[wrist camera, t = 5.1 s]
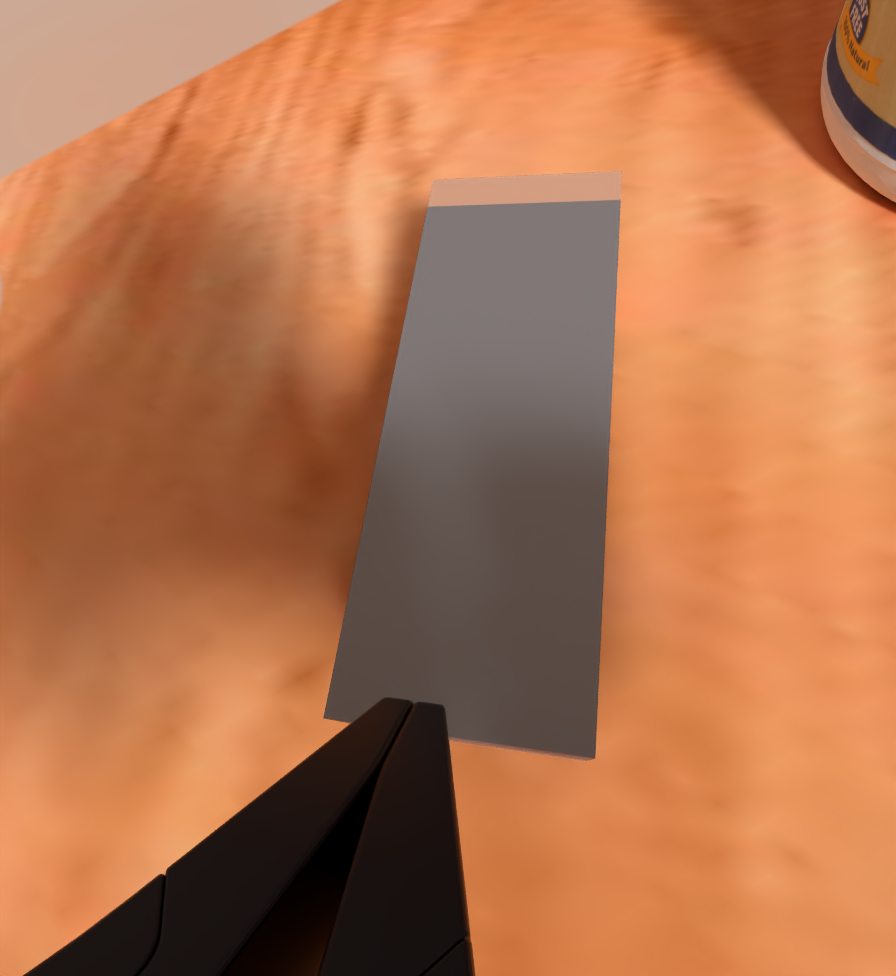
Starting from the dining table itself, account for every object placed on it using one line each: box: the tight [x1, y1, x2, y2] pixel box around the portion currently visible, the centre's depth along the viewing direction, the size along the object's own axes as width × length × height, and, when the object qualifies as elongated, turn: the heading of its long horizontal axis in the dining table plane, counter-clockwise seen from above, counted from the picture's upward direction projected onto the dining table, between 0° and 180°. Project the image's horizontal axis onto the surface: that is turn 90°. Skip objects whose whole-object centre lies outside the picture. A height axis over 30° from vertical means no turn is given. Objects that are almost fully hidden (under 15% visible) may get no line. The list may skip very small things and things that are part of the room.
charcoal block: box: [324, 171, 622, 761], centre depth 16 cm, size 5×5×14 cm
